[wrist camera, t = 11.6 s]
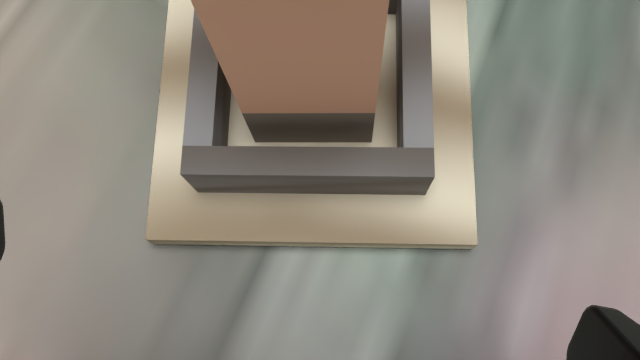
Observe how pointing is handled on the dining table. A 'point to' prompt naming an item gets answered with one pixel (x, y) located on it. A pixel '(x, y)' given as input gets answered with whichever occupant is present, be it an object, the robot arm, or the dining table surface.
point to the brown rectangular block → (300, 64)
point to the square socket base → (320, 150)
